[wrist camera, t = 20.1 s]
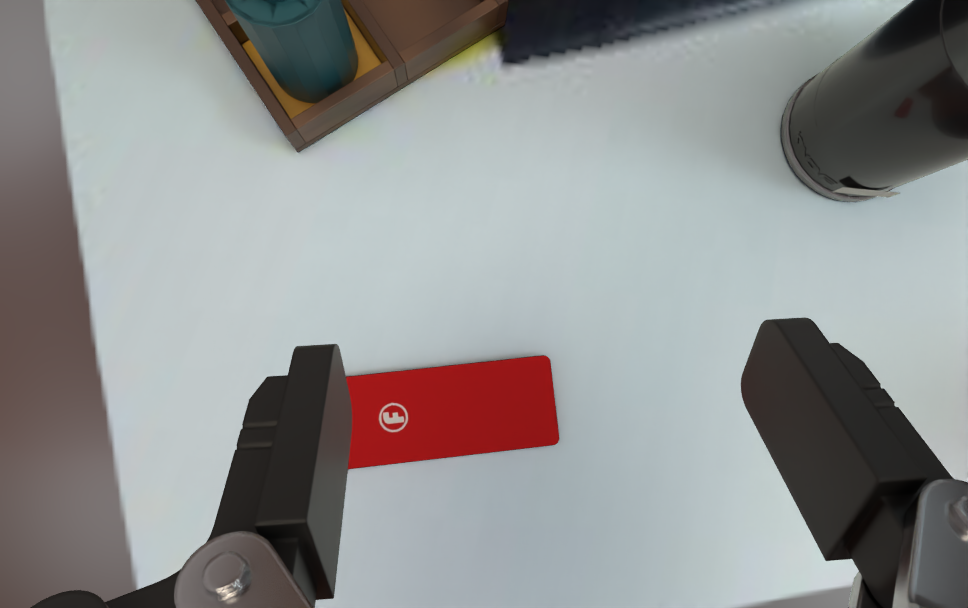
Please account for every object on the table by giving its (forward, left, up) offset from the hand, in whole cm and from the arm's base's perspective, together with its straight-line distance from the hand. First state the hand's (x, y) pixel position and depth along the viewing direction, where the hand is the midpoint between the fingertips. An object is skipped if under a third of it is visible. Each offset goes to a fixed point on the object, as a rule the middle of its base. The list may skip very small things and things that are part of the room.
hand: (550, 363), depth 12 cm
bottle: (-2, -23, -28) cm, 36 cm away
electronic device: (+4, +1, -29) cm, 29 cm away
